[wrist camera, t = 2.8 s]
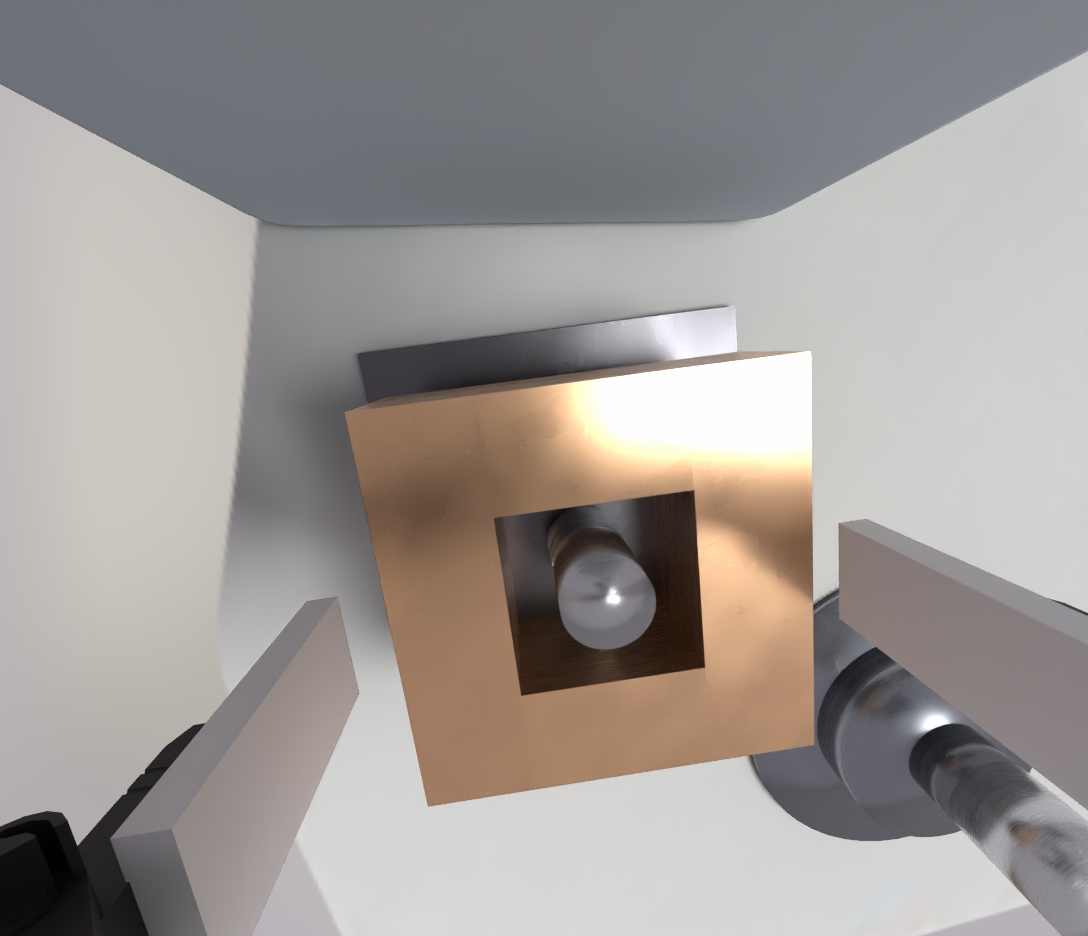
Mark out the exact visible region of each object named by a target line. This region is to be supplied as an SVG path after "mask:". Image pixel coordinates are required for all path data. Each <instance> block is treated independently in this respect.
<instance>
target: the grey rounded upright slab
mask: <svg viewBox="0 0 1088 936" xmlns="http://www.w3.org/2000/svg"><path fill="white" fill-rule="evenodd" d="M1087 51H1088V0H0V84H1V85H3V86H5V87H7V88H9V89H11V90H13V91H15V92H17V93H18V94H20V95H22V96H24V97H26V98H28V99H30V100H32V101H33V102H35V103H37V104H39V105H41V106H43V107H45V108H47V109H49V110H51V111H52V112H54V113H56V114H58V115H60V116H62V117H64V118H66V119H68V120H70V121H72V122H73V123H75V124H77V125H79V126H81V127H83V128H85V129H87V130H88V131H90V132H92V133H94V134H96V135H98V136H100V137H102V138H104V139H105V140H107V141H109V142H111V143H113V144H115V145H117V146H119V147H121V148H123V149H124V150H126V151H128V152H130V153H132V154H134V155H136V156H138V157H140V158H141V159H143V160H146V161H147V162H149V163H151V164H153V165H155V166H157V167H159V168H161V169H163V170H164V171H166V172H168V173H170V174H172V175H174V176H176V177H178V178H180V179H182V180H183V181H185V182H187V183H189V184H191V185H193V186H195V187H197V188H198V189H200V190H202V191H204V192H206V193H208V194H210V195H212V196H214V197H216V198H217V199H219V200H221V201H223V202H225V203H227V204H229V205H231V206H232V207H234V208H236V209H238V210H240V211H242V212H244V213H246V214H248V215H250V216H253V217H255V218H258V219H261V220H263V221H267V222H271V223H275V224H279V225H292V226H381V225H442V224H510V223H583V222H673V221H732V220H746V219H755V218H761V217H764V216H768V215H772V214H774V213H777V212H779V211H781V210H783V209H785V208H788V207H789V206H791V205H793V204H795V203H797V202H799V201H801V200H803V199H805V198H807V197H809V196H810V195H812V194H814V193H816V192H818V191H820V190H822V189H824V188H826V187H828V186H830V185H831V184H833V183H835V182H837V181H839V180H841V179H843V178H845V177H847V176H849V175H851V174H852V173H854V172H856V171H858V170H860V169H862V168H864V167H866V166H868V165H870V164H872V163H874V162H876V161H878V160H880V159H881V158H883V157H885V156H887V155H889V154H891V153H893V152H895V151H897V150H899V149H901V148H903V147H905V146H907V145H909V144H910V143H912V142H914V141H916V140H918V139H920V138H922V137H924V136H926V135H928V134H930V133H932V132H934V131H935V130H937V129H939V128H941V127H943V126H945V125H947V124H949V123H951V122H953V121H955V120H957V119H958V118H960V117H962V116H964V115H966V114H968V113H970V112H972V111H974V110H976V109H978V108H980V107H982V106H983V105H985V104H987V103H989V102H991V101H993V100H995V99H997V98H999V97H1001V96H1003V95H1005V94H1006V93H1008V92H1010V91H1012V90H1014V89H1016V88H1018V87H1020V86H1022V85H1024V84H1026V83H1028V82H1030V81H1031V80H1033V79H1035V78H1037V77H1039V76H1041V75H1043V74H1045V73H1047V72H1049V71H1051V70H1053V69H1054V68H1056V67H1058V66H1060V65H1062V64H1064V63H1066V62H1068V61H1070V60H1072V59H1074V58H1076V57H1078V56H1079V55H1081V54H1083V53H1085V52H1087Z"/></svg>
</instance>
